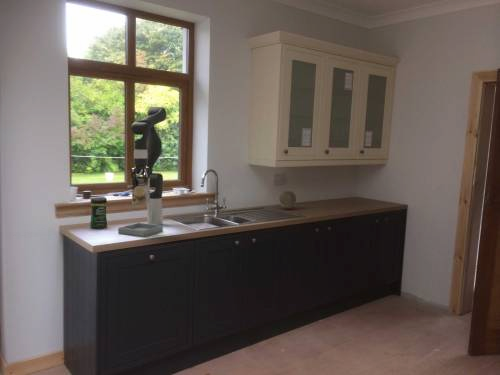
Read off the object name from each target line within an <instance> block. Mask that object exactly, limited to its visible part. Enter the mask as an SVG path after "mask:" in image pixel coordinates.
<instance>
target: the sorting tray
mask: <svg viewBox="0 0 500 375" xmlns="http://www.w3.org/2000/svg"><path fill="white" fill-rule="evenodd" d="M163 228H164V225H162V224H161V225H153V224H147V223H145V222H144V223H143V222H136V223H132V224H128V225H124V226H120V227H118V228H117V230H118V231H117V232H118V234H119V235H124V236H125V235H126V236H131V237H132V236H133V237H140V238H146V237H149V236H152V235H157V234H159V233H162V232H164V231H163V230H164V229H163Z"/></svg>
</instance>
